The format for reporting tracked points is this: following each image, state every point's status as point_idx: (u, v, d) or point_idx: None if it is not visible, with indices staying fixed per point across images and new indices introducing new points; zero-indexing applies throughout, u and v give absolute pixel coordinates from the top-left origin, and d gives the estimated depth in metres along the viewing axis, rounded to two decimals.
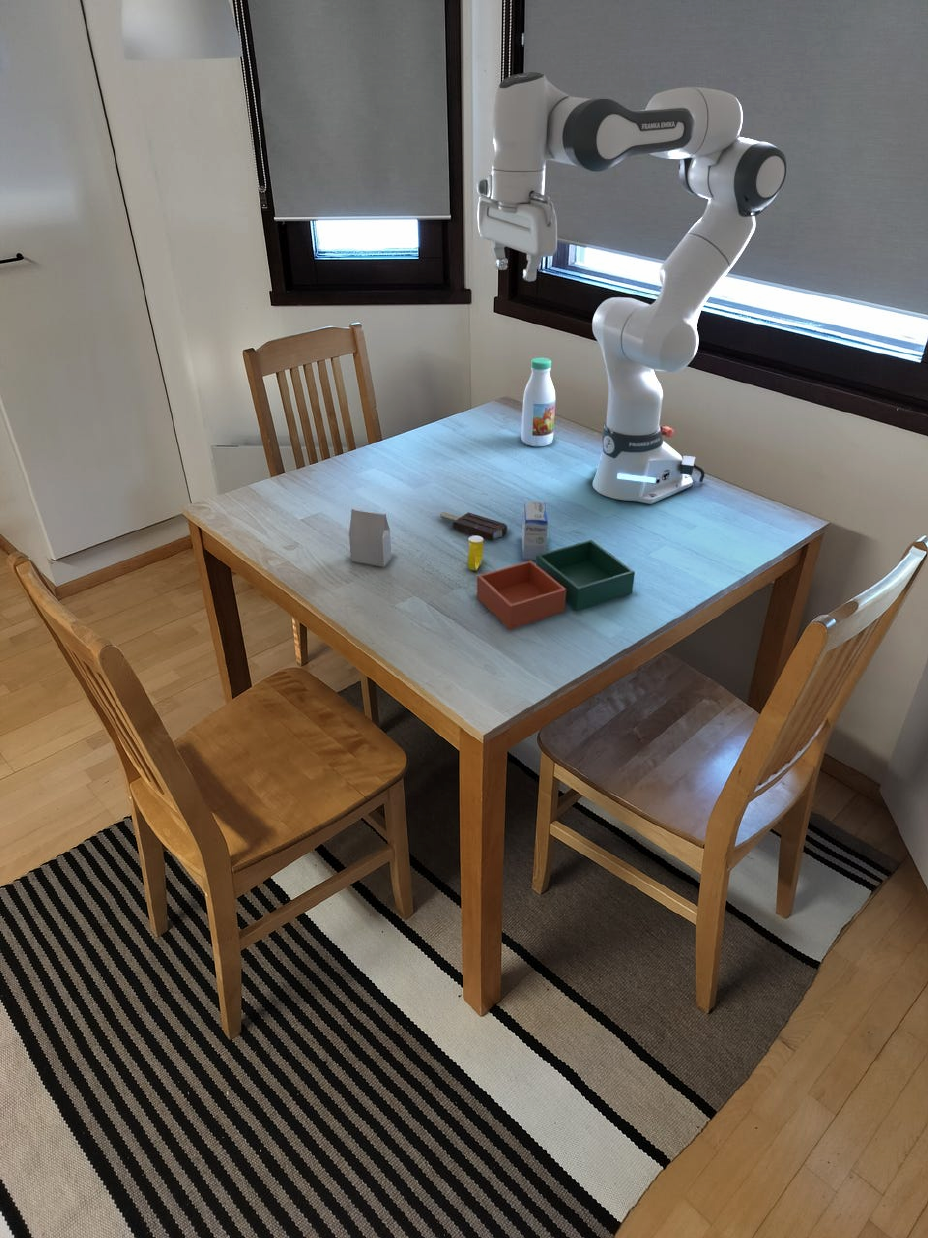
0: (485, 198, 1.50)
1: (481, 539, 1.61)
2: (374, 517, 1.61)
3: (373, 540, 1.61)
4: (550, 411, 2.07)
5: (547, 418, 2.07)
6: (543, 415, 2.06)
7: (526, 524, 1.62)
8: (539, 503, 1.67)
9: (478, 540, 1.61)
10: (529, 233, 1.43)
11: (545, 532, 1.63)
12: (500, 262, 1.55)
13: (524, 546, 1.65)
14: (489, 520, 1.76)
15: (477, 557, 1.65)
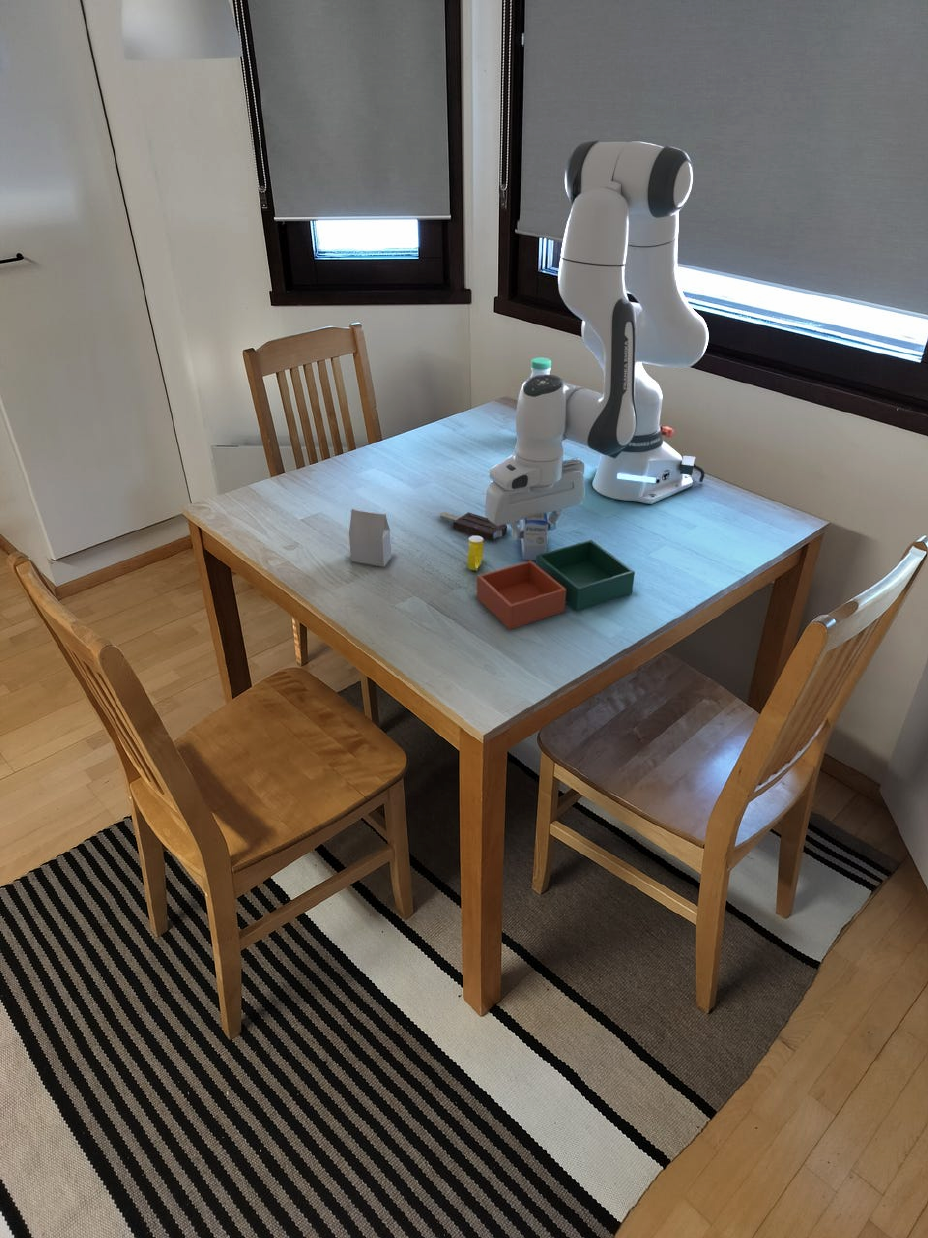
0: (517, 490, 1.56)
1: (481, 539, 1.61)
2: (374, 517, 1.61)
3: (373, 540, 1.61)
4: None
5: None
6: None
7: (526, 524, 1.62)
8: None
9: (478, 539, 1.61)
10: (572, 491, 1.64)
11: (545, 532, 1.63)
12: None
13: (524, 546, 1.64)
14: None
15: (477, 557, 1.65)
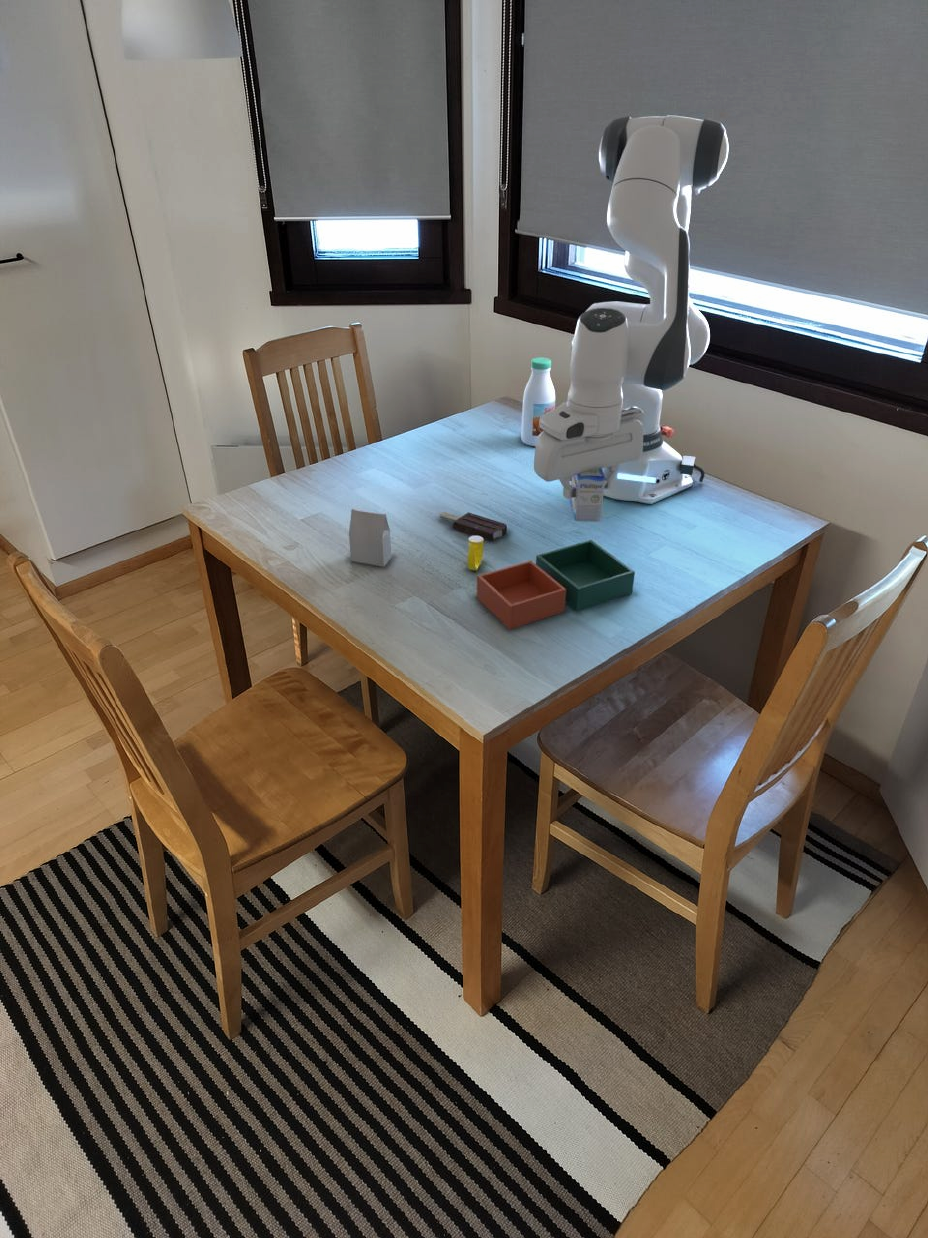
0: (571, 441, 1.39)
1: (481, 539, 1.61)
2: (374, 517, 1.61)
3: (373, 540, 1.61)
4: None
5: None
6: (543, 414, 2.06)
7: (581, 480, 1.44)
8: None
9: (478, 539, 1.61)
10: (630, 444, 1.47)
11: (601, 489, 1.45)
12: None
13: (577, 506, 1.47)
14: (489, 520, 1.76)
15: (477, 557, 1.65)
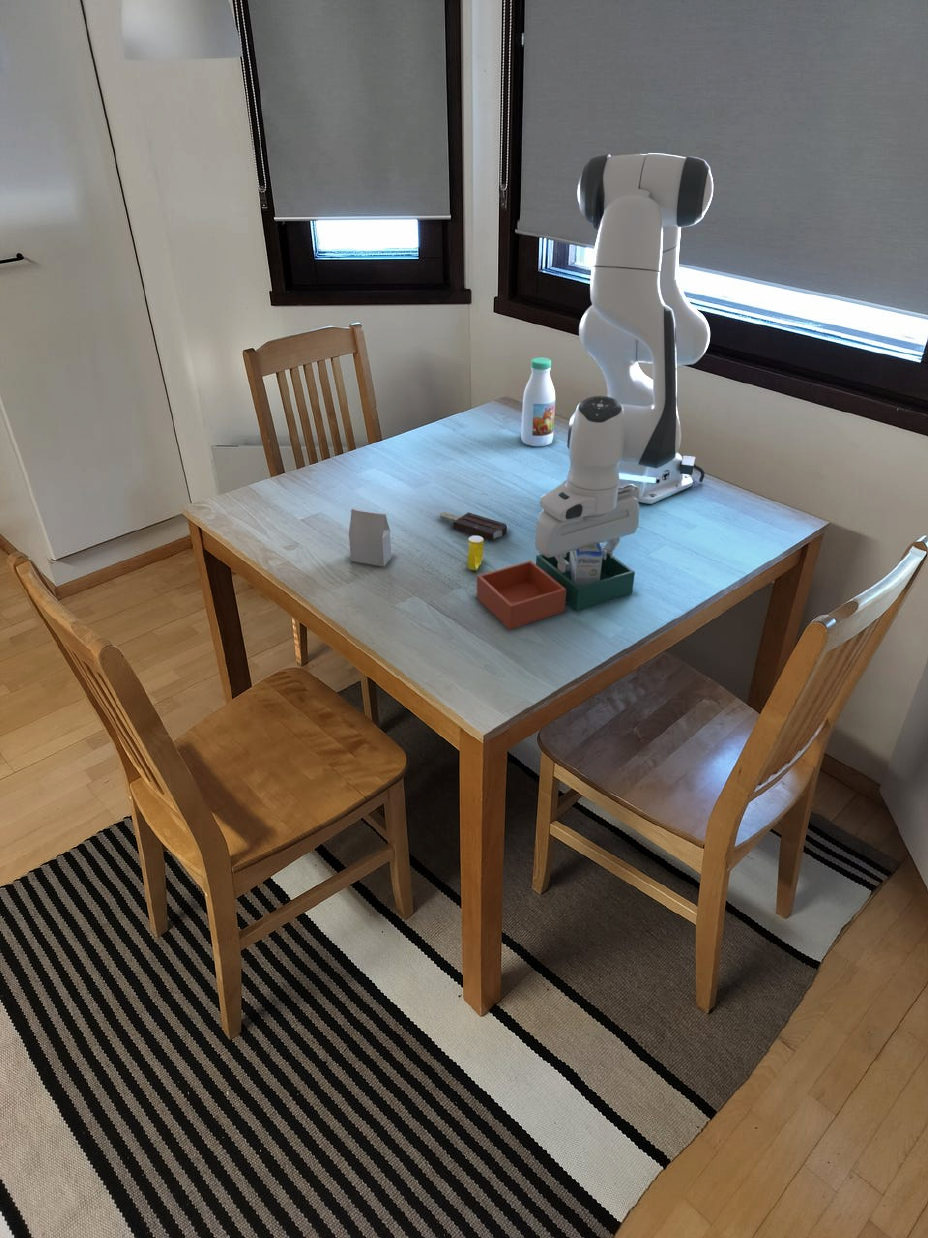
0: (571, 521, 1.46)
1: (481, 539, 1.61)
2: (374, 517, 1.61)
3: (373, 540, 1.61)
4: (550, 411, 2.07)
5: (547, 418, 2.07)
6: (543, 414, 2.06)
7: (579, 556, 1.51)
8: None
9: (478, 540, 1.61)
10: (626, 519, 1.54)
11: (599, 564, 1.52)
12: None
13: (576, 579, 1.54)
14: (489, 520, 1.76)
15: (477, 557, 1.65)
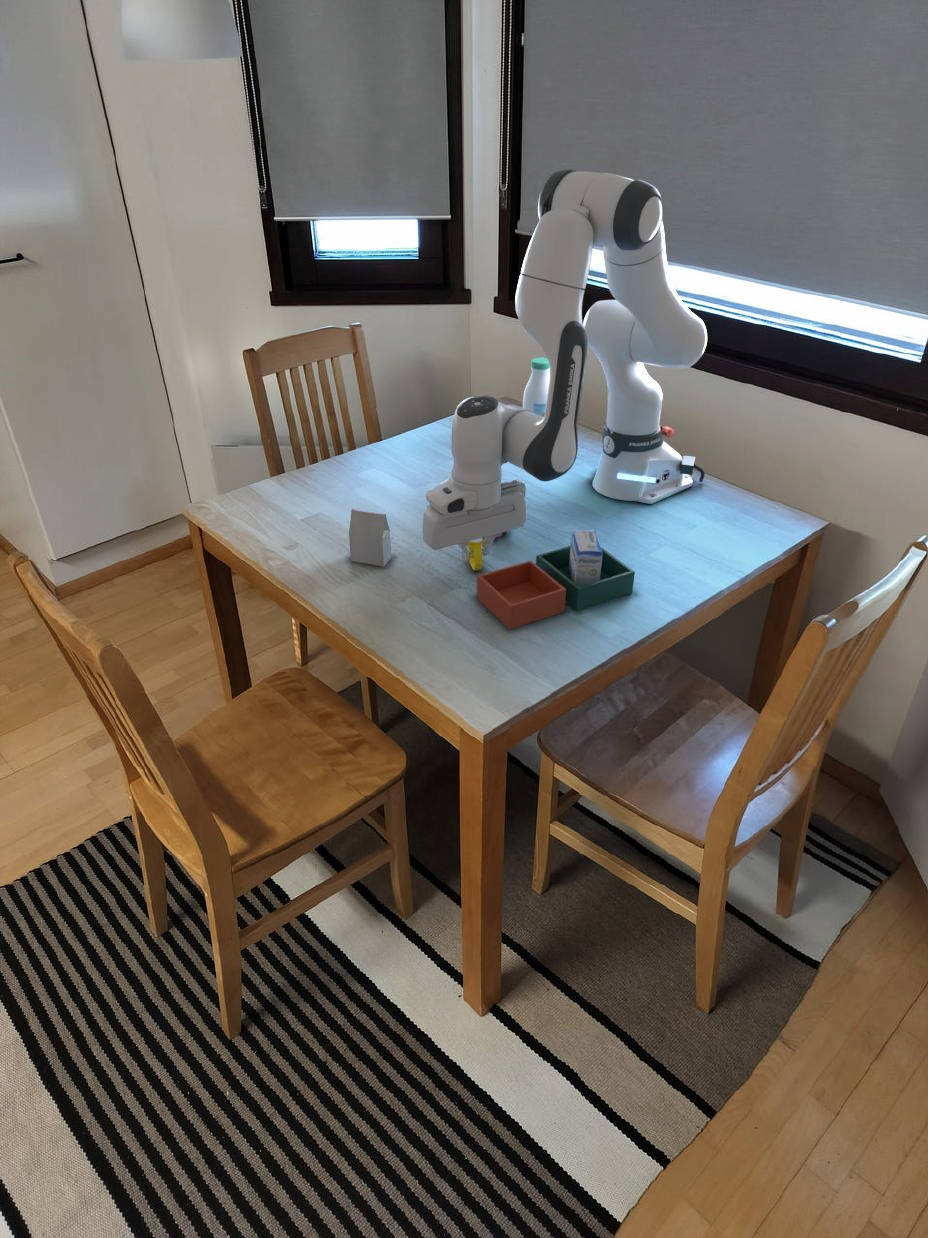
0: (454, 514, 1.52)
1: (480, 538, 1.61)
2: (374, 517, 1.61)
3: (373, 540, 1.61)
4: None
5: None
6: (543, 414, 2.06)
7: (579, 556, 1.51)
8: (589, 532, 1.56)
9: (478, 539, 1.61)
10: (513, 514, 1.60)
11: (599, 564, 1.52)
12: None
13: (576, 579, 1.54)
14: None
15: None
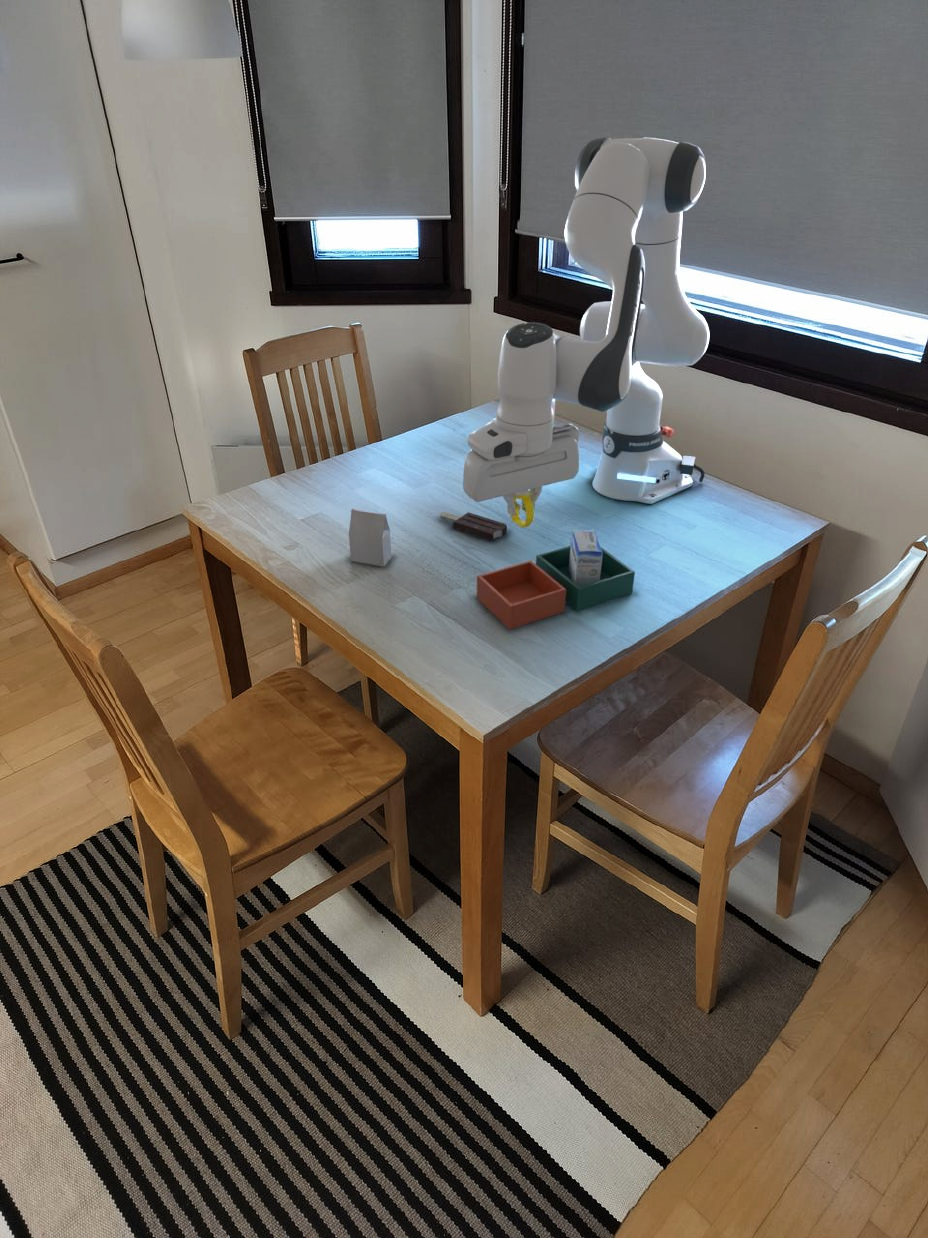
0: (500, 460, 1.33)
1: (526, 490, 1.43)
2: (374, 517, 1.61)
3: (373, 540, 1.61)
4: None
5: None
6: None
7: (579, 556, 1.51)
8: (589, 532, 1.56)
9: (525, 491, 1.42)
10: (564, 462, 1.41)
11: (599, 564, 1.52)
12: None
13: (576, 579, 1.54)
14: (489, 520, 1.76)
15: None
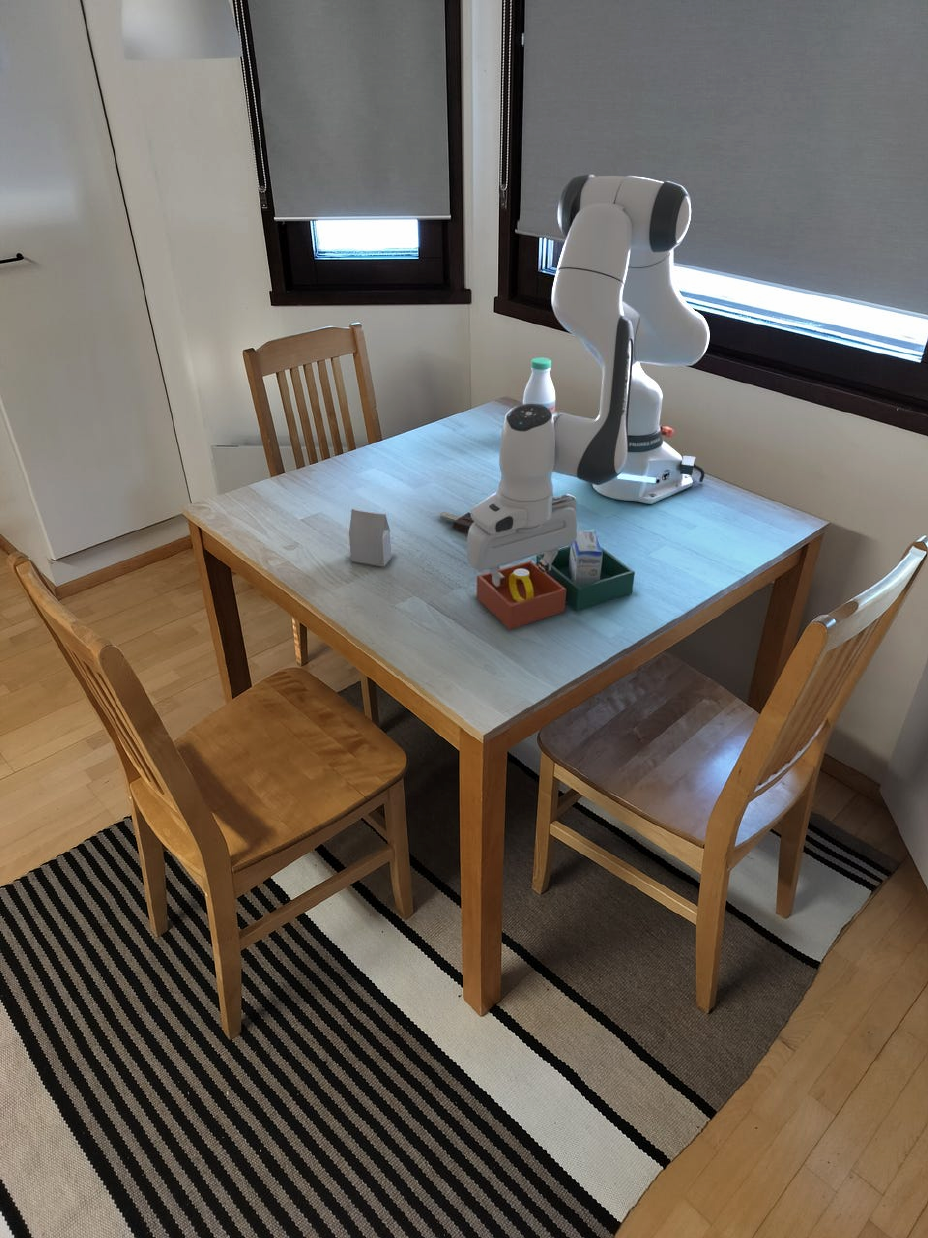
0: (501, 533, 1.40)
1: (526, 570, 1.50)
2: (374, 517, 1.61)
3: (373, 540, 1.61)
4: None
5: None
6: None
7: (579, 556, 1.51)
8: (589, 532, 1.56)
9: (525, 572, 1.50)
10: (563, 531, 1.48)
11: (599, 564, 1.52)
12: None
13: (576, 579, 1.54)
14: None
15: (514, 592, 1.54)
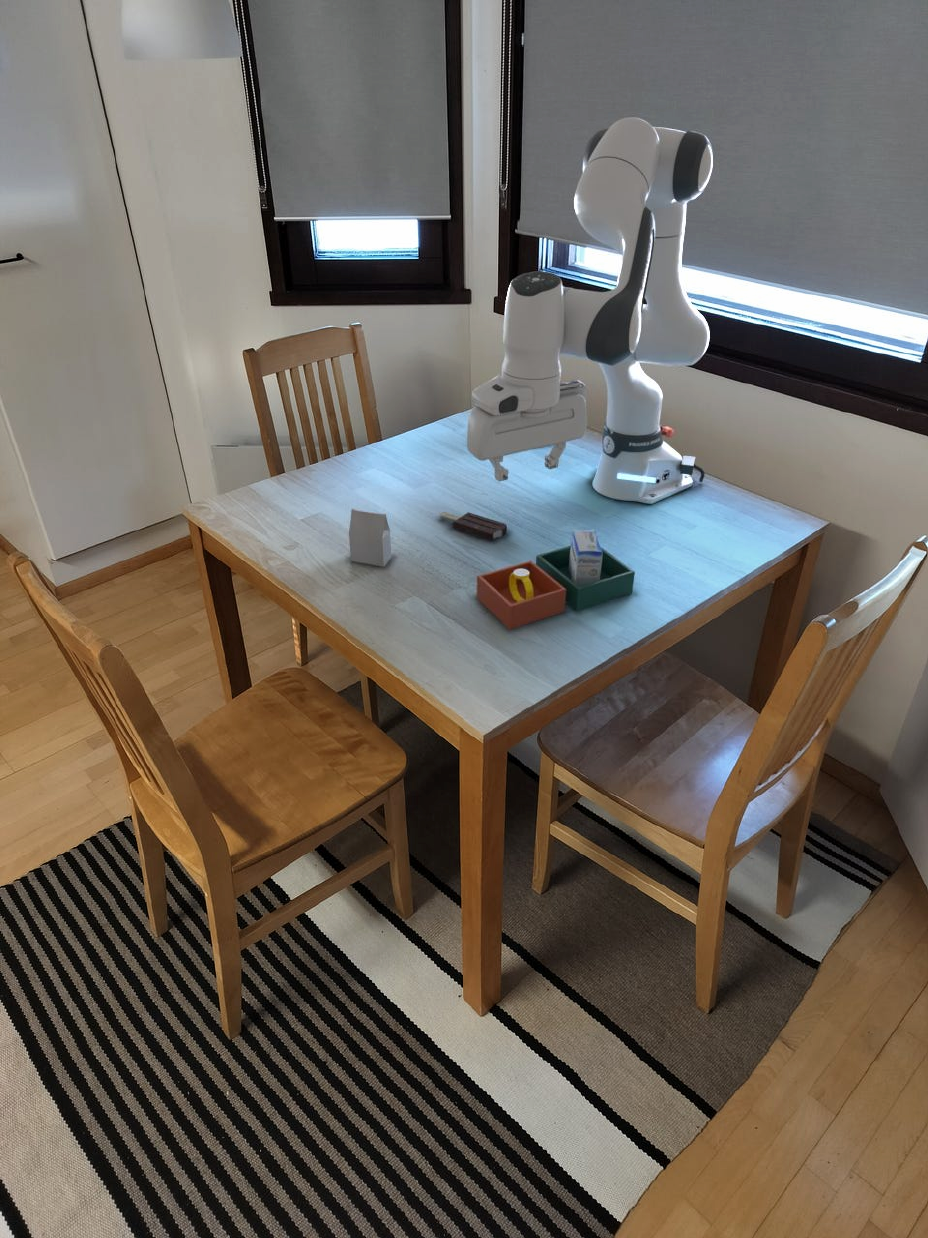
0: (505, 416, 1.29)
1: (526, 570, 1.50)
2: (374, 517, 1.61)
3: (373, 540, 1.61)
4: None
5: None
6: None
7: (579, 556, 1.51)
8: (589, 532, 1.56)
9: (525, 572, 1.50)
10: (572, 421, 1.36)
11: (599, 564, 1.52)
12: None
13: (576, 579, 1.54)
14: (489, 520, 1.76)
15: (514, 592, 1.54)
